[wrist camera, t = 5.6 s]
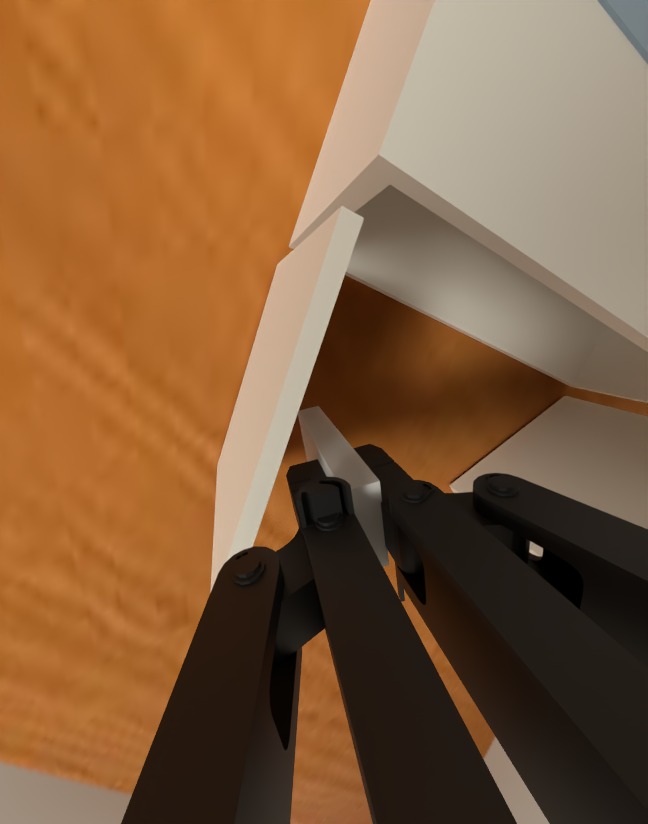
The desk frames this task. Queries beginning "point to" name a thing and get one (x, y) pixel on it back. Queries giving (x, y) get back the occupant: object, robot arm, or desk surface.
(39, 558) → the desk surface
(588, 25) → the carton
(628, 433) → the right flap
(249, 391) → the left flap
